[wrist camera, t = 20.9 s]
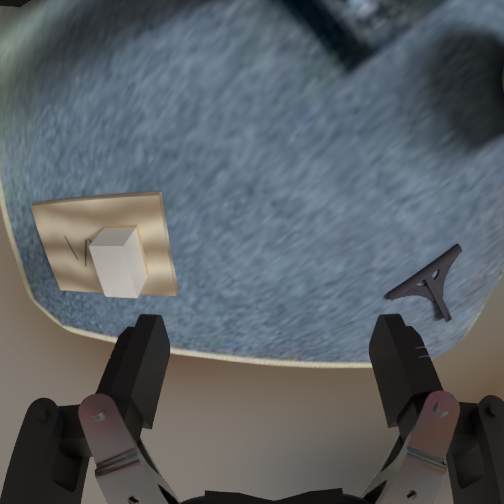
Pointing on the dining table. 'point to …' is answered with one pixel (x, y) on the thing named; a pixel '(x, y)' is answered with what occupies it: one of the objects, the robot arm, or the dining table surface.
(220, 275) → the dining table surface
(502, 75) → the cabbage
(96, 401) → the robot arm
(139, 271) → the block
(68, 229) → the birch board
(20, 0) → the cleaning product box
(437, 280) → the bracket
